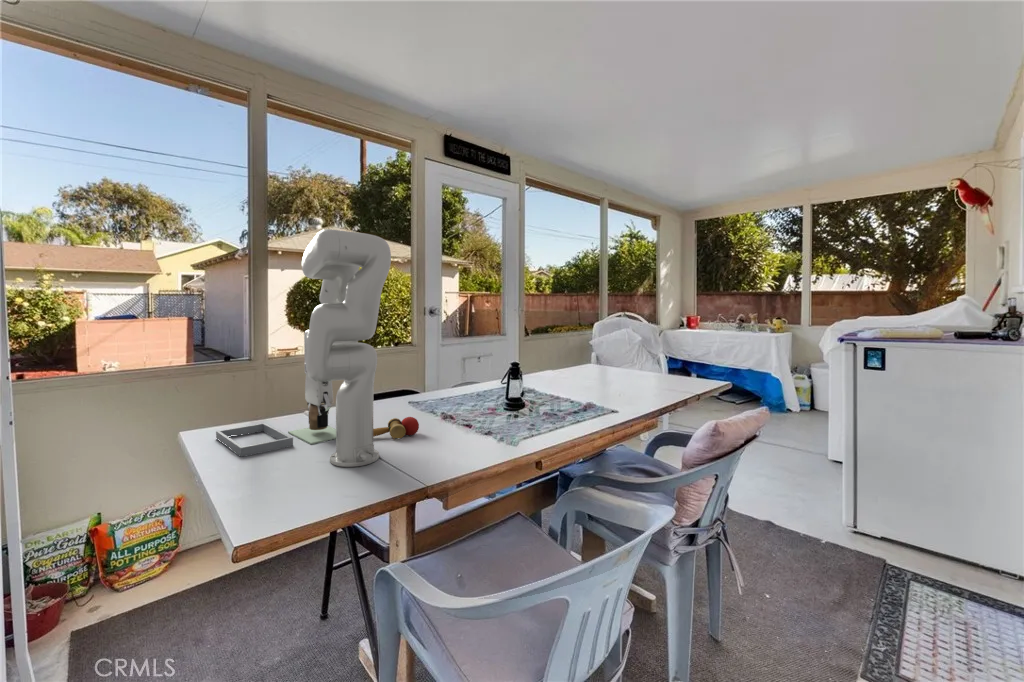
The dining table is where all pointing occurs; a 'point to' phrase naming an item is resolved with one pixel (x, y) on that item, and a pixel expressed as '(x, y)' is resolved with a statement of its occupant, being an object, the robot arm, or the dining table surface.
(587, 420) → the dining table surface
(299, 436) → the pad
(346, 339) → the robot arm
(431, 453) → the dining table surface
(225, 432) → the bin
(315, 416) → the brown wooden cylinder
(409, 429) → the kendama
